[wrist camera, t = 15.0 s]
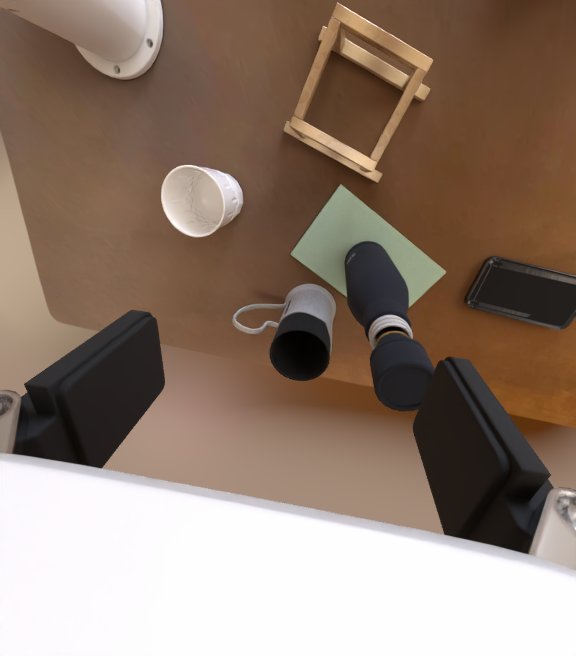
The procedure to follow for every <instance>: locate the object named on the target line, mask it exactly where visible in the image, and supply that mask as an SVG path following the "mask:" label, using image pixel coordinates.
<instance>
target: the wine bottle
mask: <svg viewBox="0 0 576 656" xmlns="http://www.w3.org/2000/svg"><path fill="white" fill-rule="evenodd" d="M344 264H345V277H346V290H347V301H348V306H349V308H350V310H351V312H352V314H353V316H354V317H355V319H356V320H357V321H358V322H359V323H360V324H361V325H362V326H363V327H364V328H365V334H366V336H367V339H368V341H369V342H370V344H371V347H372V348H373V349H374V350H373V351H372V354H371V357H370V366H371V372H372V378H373V384H374V389H375V393H376V395H377V397H378V399H379V401H381V402H382V403H383V404H384V405H385V406H387V407H389V408H391V409H393V410H398V411H414V410H418V409H419V408H420V405H421V403H422V401H423V398H424V396H425V393H426V391H427V388H428V386H429V383H430V381H431V379H432V376H433V374H434V371H435V369H434V367H433V365H432V363H431V361H430V359H429V357H428V355H427V353H426V351H425V349H424V347H423V346H422V345H421V344H420V343H419V342H417V341H415V340H413V339H412V331H411V323H410V321H409V318H408V316H407V311H408V308H409V291H408V287H407V285H406V282H405V280H404V278H403V277H402V275H401V274H400V272H399V271H398V269H397V267H396V266H395V264H394V263H393V261H392V260H391V258H390V256H389V255H388V253H387V252H386V250H385V249H384V248H383V247H382V246H381V245H380V244H378V243H376V242H372V241H364V242H360V243H358V244H356V245H354V246H353V247H352V248H351V249H350V250H349V251H348V253H347V255H346V258H345V262H344Z"/></svg>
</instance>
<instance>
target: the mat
mask: <svg viewBox="0 0 576 656" xmlns="http://www.w3.org/2000/svg"><path fill="white" fill-rule="evenodd" d="M364 241H372V242H376V243H378V244H380V245H381V246H382V247H383V248H384V249H385V250H386V252H387V253H388V255H389V256H390V258H391V260H392V261H393V263H394V264H395V266H396V267H397V269H398V271H399V272H400V274H401V275H402V277H403V278H404V280H405V282H406V285H407V287H408V291H409V307H410V306H411V305H412V304H413V303H414V302H415V301H416V300H418V299H419V298H420V297H421V296H422V295H423V294H424V293H425V292H426V291H427V290H428V289H429V288H430V287H431V286H432V285H433V284H434V283H435V282H437V281H438V280H439V279H440V278H441V277H442V276H443V275H444V274H445V273H446V271H445V270H444V269H442V268H441V267H440V266H439V265H438V264H436V263H435V262H434V261H433V260H431V259H430V258H429V257H428V256H427V255H425V254H424V253H423V252H422V251H421V250H419V249H418V248H417V247H416V246H415V245H413V244H412V243H411V242H410V241H409V240H407V239H406V238H405V237H404V236H403V235H401V234H400V233H399V232H398V231H397V230H395V229H394V228H393V227H392V226H391V225H389V224H388V223H387V222H386V221H385V220H383V219H382V218H381V217H380V216H379V215H377V214H376V213H375V212H374V211H372V210H371V209H370V208H369V207H368V206H366V205H365V204H364V203H363V202H362V201H360V200H359V199H358V198H357V197H356V196H354V195H353V194H352V193H351V192H350V191H348V190H347V189H346V188H345V187H344V186H342V185H341V184H340V186H339V187H338V189H337V190H336V191H335V193H334V194H333V195H332V197H331V198H330V200H329V201H328V202H327V204H326V205H325V207H324V208H323V209H322V211H321V212H320V213H319V215H318V216H317V218H316V219H315V220H314V222H313V223H312V225H311V226H310V227H309V229H308V230H307V231H306V233H305V234H304V236H303V237H302V238H301V240H300V241H299V243H298V244H297V245H296V247H295V248H294V249H293V251H292V252H291V254H290V255H292V256H293V257H294V258H296V259H297V260H298V261H300V262H301V263H302V264H304V265H305V266H306V267H308V268H309V269H310V270H312V271H313V272H314V273H316V274H317V275H318V276H320V277H321V278H322V279H323V280H325V281H326V282H327V283H329V284H330V285H331V286H333V287H334V288H335V289H337V290H338V291H339V292H341V293H342V294H343V295H345V296H346V297H347V290H346V277H345V264H344V262H345V258H346V255H347V253H348V251H349V250H350V249H351V248H352V247H353V246H354V245H356V244H358V243H360V242H364Z"/></svg>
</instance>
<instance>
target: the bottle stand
mask: <svg viewBox="0 0 576 656" xmlns="http://www.w3.org/2000/svg"><path fill="white" fill-rule="evenodd" d="M345 30H346V31H348V32H350V33H351V34H353V35H355V36H356V37H358V38H360V39H361V40H363V41H365V42H367V43H368V44H370V45H372V46H373V47H375V48H377V49H378V50H380V51H382V52H383V53H385V54H387V55H389V56H390V57H392V58H394V59H395V60H397V61H399V62H400V63H402V64H404V65H405V66H407V67H409V68H411V69H412V70H413V71H412V72H411V74H410V75H409V76H408V75H406V74H404V73H403V72H401V71H399V70H397V69H396V68H394V67H392V66H391V65H389V64H387V63H386V62H384V61H382V60H380V59H379V58H377V57H375V56H374V55H372V54H370V53H369V52H367V51H365V50H363V49H362V48H360V47H358V46H357V45H355V44H353V43H352V42H350V41H348V40H347V39H345ZM318 41H319V43H321V44H320V47H319V50H318V52H317V55H316V57H315V60H314V62H313V65H312V68H311V70H310V73H309V75H308V78H307V80H306V83H305V86H304V88H303V91H302V93H301V96H300V99H299V101H298V104H297V106H296V109H295V111H294V114H293V115H294V116H292V119H291V122H288V121H287V122H286V124H285V127H284V130H283V131H284V132H285V133H287V134H289V135H291V136H292V137H294V138H296V139H298V140H300V141H302V142H303V143H305V144H307V145H309V146H311V147H312V148H314V149H316V150H318V151H320V152H321V153H323V154H325V155H327V156H329V157H331V158H332V159H334V160H336V161H338V162H340V163H341V164H343V165H345V166H347V167H349V168H350V169H352V170H354V171H356V172H358V173H360V174H361V175H363V176H365V177H367V178H369V179H370V180H372V181H374V182H376V183H378V181H379V180H380V178H381V176H382V173H380V172H378V171H377V170H375V169H374V168H375V167H376V165H377V162H378V161H379V159H380V157H381V156H382V154H383V152H384V150H385V148H386V146H387V145H388V143H389V141H390V139H391V137H392V135H393V134H394V132H395V130H396V128H397V126H398V124H399V123H400V121H401V119H402V117H403V115H404V113H405V112H406V110H407V108H408V106H409V104H410V102H411V101H412V99H413V97H414V98H415V99H417V100H419V101H420V102H423V101H424V100H425V98H426V96H427V95H428V93H429V91H430V88H428V87H426V86H425V85H423V84H421V82H422V80H423V79H424V77H425V75H426V73H427V71H428V69H429V68H430V66H431V64H432V62H433V59H431V58H429V57H428V56H426V55H424V54H423V53H421V52H419V51H418V50H416V49H414V48H413V47H411V46H409V45H408V44H406V43H404V42H403V41H401V40H399V39H397V38H396V37H394V36H392V35H391V34H389V33H387V32H386V31H384V30H382V29H381V28H379V27H377V26H376V25H374V24H372V23H371V22H369V21H367V20H366V19H364V18H362V17H361V16H359V15H357V14H356V13H354V12H352V11H351V10H349V9H347V8H346V7H344V6H342V5H341V4H339V3H336V6H335V8H334V11H333V13H332V17H331V19H330V21H329V24H328V26H327V28H326V27H324V26H323V27H322V30H321V33H320V35H319V38H318ZM332 50H333V51H335V52H336V53H338V54H340V55H342V56H343V57H345V58H347V59H348V60H350V61H352V62H354V63H355V64H357V65H359V66H360V67H362V68H364V69H366V70H367V71H369V72H371V73H372V74H374V75H376V76H378V77H379V78H381V79H383V80H384V81H386V82H388V83H390V84H391V85H393V86H395V87H396V88H398V89H400V90H402V91H403V94H402V96H401V98H400V100H399V102H398V104H397V105H396V107H395V109H394V111H393V113H392V115H391V117H390V119H389V121H388V122H387V124H386V126H385V128H384V130H383V132H382V134H381V136H380V138H379V139H378V141H377V143H376V145H375V147H374V149H373V151H372V153H371V155H370V157H367V156H365V155H363V154H361V153H360V152H358V151H356V150H354V149H352V148H351V147H349V146H347V145H345V144H343V143H342V142H340V141H338V140H336V139H335V138H333V137H331V136H329V135H327V134H326V133H324V132H322V131H320V130H318V129H317V128H315V127H313V126H311V125H309V124H308V123H306V122H304V121H303V120H304V117H305V115H306V112H307V110H308V107H309V105H310V102H311V100H312V98H313V95H314V93H315V90H316V88H317V85H318V83H319V80H320V78H321V75H322V73H323V70H324V68H325V65H326V63H327V61H328V58H329V56H330V53H331V51H332Z"/></svg>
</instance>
